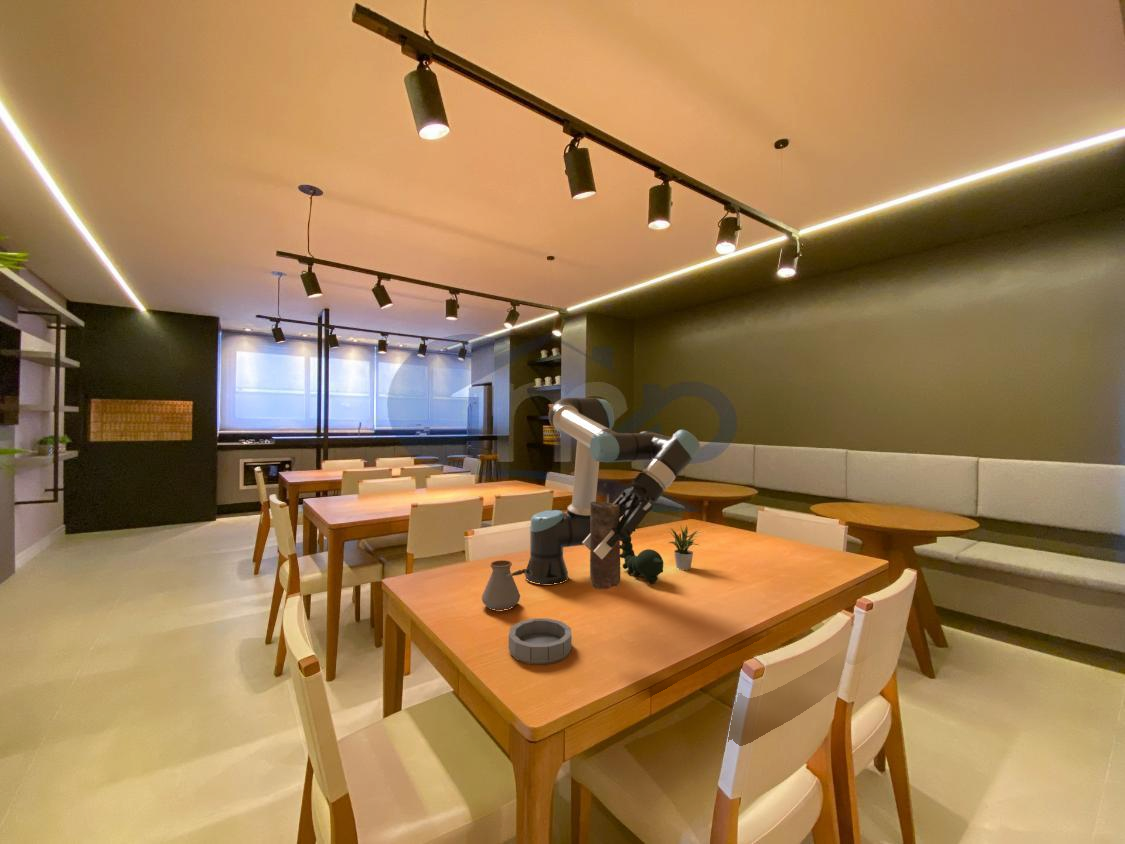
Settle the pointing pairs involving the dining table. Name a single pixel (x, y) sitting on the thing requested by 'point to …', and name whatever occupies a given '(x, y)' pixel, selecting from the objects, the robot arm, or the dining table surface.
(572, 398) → the robot arm
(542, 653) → the candle dish
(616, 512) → the candle
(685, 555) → the house plant
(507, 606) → the coffee pot
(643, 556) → the toy figurine
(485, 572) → the dining table surface
